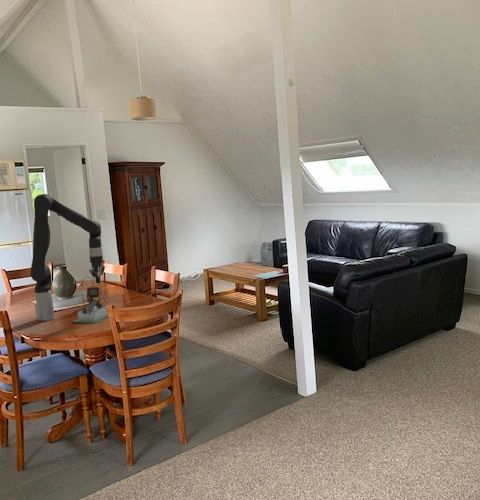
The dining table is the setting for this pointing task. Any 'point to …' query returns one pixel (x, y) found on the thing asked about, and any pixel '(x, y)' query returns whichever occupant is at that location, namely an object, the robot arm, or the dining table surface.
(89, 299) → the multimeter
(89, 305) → the lever
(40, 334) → the dining table surface
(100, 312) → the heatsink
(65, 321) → the dining table surface
